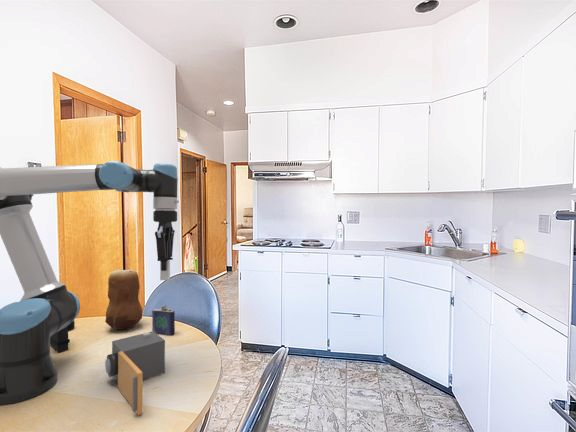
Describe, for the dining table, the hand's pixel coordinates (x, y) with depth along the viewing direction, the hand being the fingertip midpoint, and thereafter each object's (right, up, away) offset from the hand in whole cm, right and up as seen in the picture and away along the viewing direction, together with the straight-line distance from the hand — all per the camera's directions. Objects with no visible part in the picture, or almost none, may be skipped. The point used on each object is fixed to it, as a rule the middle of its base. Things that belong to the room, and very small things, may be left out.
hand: (165, 279), depth 104 cm
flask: (-9, -27, +21) cm, 35 cm away
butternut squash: (-28, -26, +26) cm, 46 cm away
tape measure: (-52, -26, +24) cm, 63 cm away
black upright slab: (-42, -26, +8) cm, 51 cm away
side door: (0, -26, -24) cm, 36 cm away
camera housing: (-5, -26, -11) cm, 29 cm away
